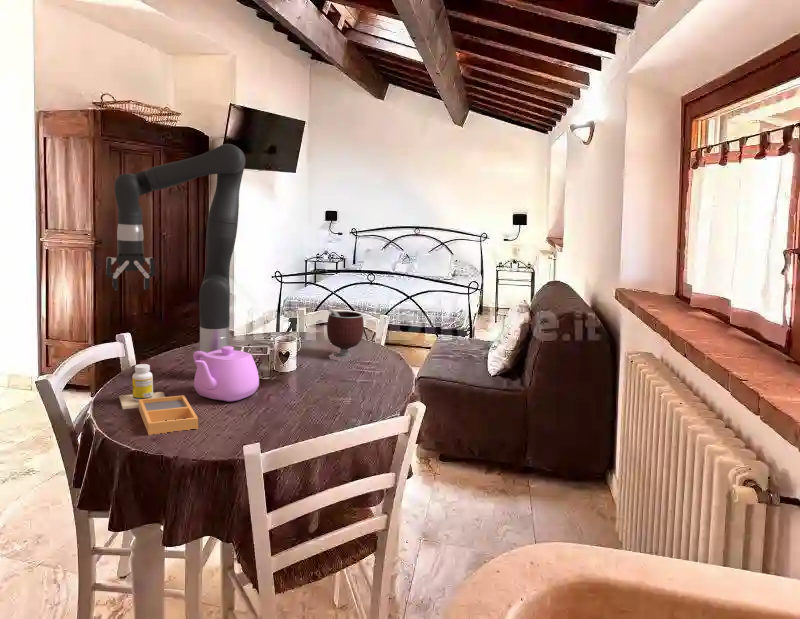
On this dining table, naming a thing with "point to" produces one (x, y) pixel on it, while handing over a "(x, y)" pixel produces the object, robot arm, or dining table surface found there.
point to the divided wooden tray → (167, 414)
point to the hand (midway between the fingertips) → (131, 289)
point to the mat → (129, 402)
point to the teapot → (225, 374)
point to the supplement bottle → (142, 382)
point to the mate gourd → (344, 330)
